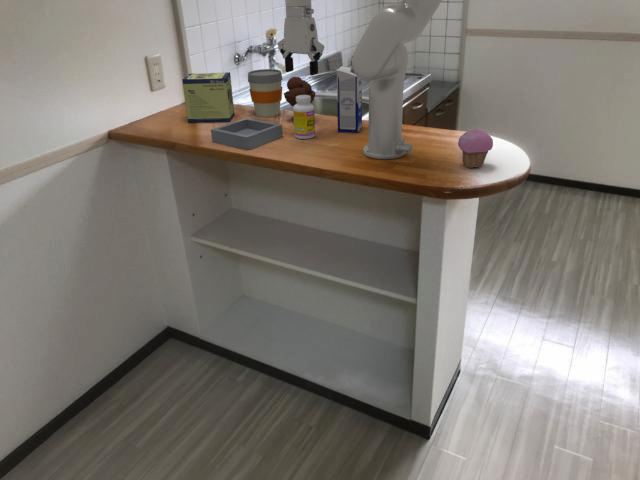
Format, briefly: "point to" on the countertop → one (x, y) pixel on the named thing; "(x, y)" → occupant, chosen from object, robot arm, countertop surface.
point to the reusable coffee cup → (266, 91)
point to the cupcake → (475, 147)
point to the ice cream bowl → (298, 90)
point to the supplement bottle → (304, 117)
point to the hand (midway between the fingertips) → (301, 72)
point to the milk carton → (349, 100)
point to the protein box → (208, 97)
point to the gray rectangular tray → (247, 133)
